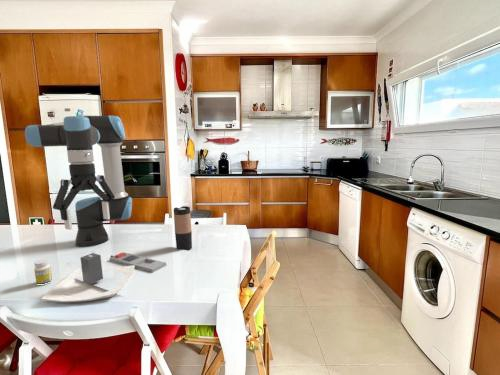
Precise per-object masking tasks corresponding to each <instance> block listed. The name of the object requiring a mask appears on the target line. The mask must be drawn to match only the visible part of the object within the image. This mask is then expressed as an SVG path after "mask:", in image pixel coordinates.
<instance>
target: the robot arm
mask: <svg viewBox="0 0 500 375" xmlns="http://www.w3.org/2000/svg"><path fill="white" fill-rule="evenodd" d="M24 137H25V141H26V142H27V144H28V145H29V146H30V147H39V148H44V147H66V151H67V153H66V154H67V162H68V163H69V165H68V167H69V168H68V170H69V176H70V179H64V178H63V179H61V180H60V186H59V190H58V193H57V195H56V197H55V200H54V203H53V205H52V209H53V210H58V211H59V213H60V218H61V220H62V221H64V228H65V230H68V231H69V230H73V224H72V216H71V210H70V209H68V208H69V207H70V205H71V204H72V202H73V201H74V200H75V198H76V196H77V194H79V193H80V192H85V191H91V190H92V191H93V192H94V193H95V194H96V195H97V196H91V197H87V198H83V199H80V200H77V201H76V202H75V206H74V207H75V211H74V212H75V218H76V222H77V223H76V224H77V233H76V237H75V240H74V241H75V246H77V247H81V246H82V247H93V246H97V245H101V244H103V243H106V242H107V241H109V234H108V232H107V230H106V228H105V226H104V222H112V221H123V220H128V219H130V218H131V216H132V210H133V209H132V208H133V198H132V197H130V196H129V193H127V192H126V190H125V183H124V174H123V173H124V171H123V165H122V155H121V154H122V153H121V148H120V147H121V146H122V145H123V143H124V142H123V140H126V132H125V127H124V124H123V121H122V119H121V117H119V116H118V115H82V116H81V115H80V116H78V115H77V116H76V115H72V116H71V115H70V116H69V115H68V116H65V117H64V118H63V121H62V122H55V123H49V124H33V125H32V124H31V125H27V126H26V127H25V130H24ZM96 144H97V145H98V146H100V150H101V151H100V152H101V158H102V167H103V174H104V175H101V174H98V175H96V168H95V164H94V163H93V162H94V161H95V158H94V150H93V146H94V145H96ZM96 182H97V183H98V184H96ZM71 185H72V186H71ZM69 186H71V188H70V189H69ZM99 186H100V187H101V188H99ZM68 190H69V192H68ZM67 192H68V193H67ZM82 247H81V248H82Z"/></svg>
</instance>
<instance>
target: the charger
mask: <svg viewBox="0 0 500 375" xmlns="http://www.w3.org/2000/svg"><path fill="white" fill-rule="evenodd" d="M101 257H102V256H101V254H97V253H94V252H91V253H89V254H87V255H86V254H85V255H83V256H81V257H80V258H79V259H80V265H81V268H82V274H83V275H82V281H83V282H86V283H89V284H92V285H94V284H95V283H96V282H99V281H102V280H103V279H104V275H103V274H104V273H103V271H102V268H103V266H102V258H101Z"/></svg>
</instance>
